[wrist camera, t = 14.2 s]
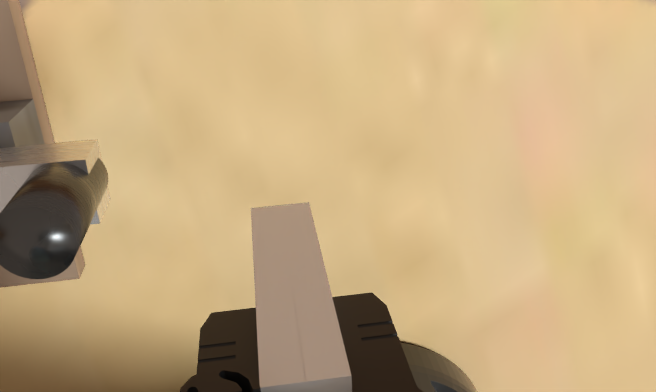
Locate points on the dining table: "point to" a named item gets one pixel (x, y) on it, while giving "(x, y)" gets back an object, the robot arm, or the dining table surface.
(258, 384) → the robot arm
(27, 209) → the lock bolt
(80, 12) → the dining table surface
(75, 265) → the dock socket
